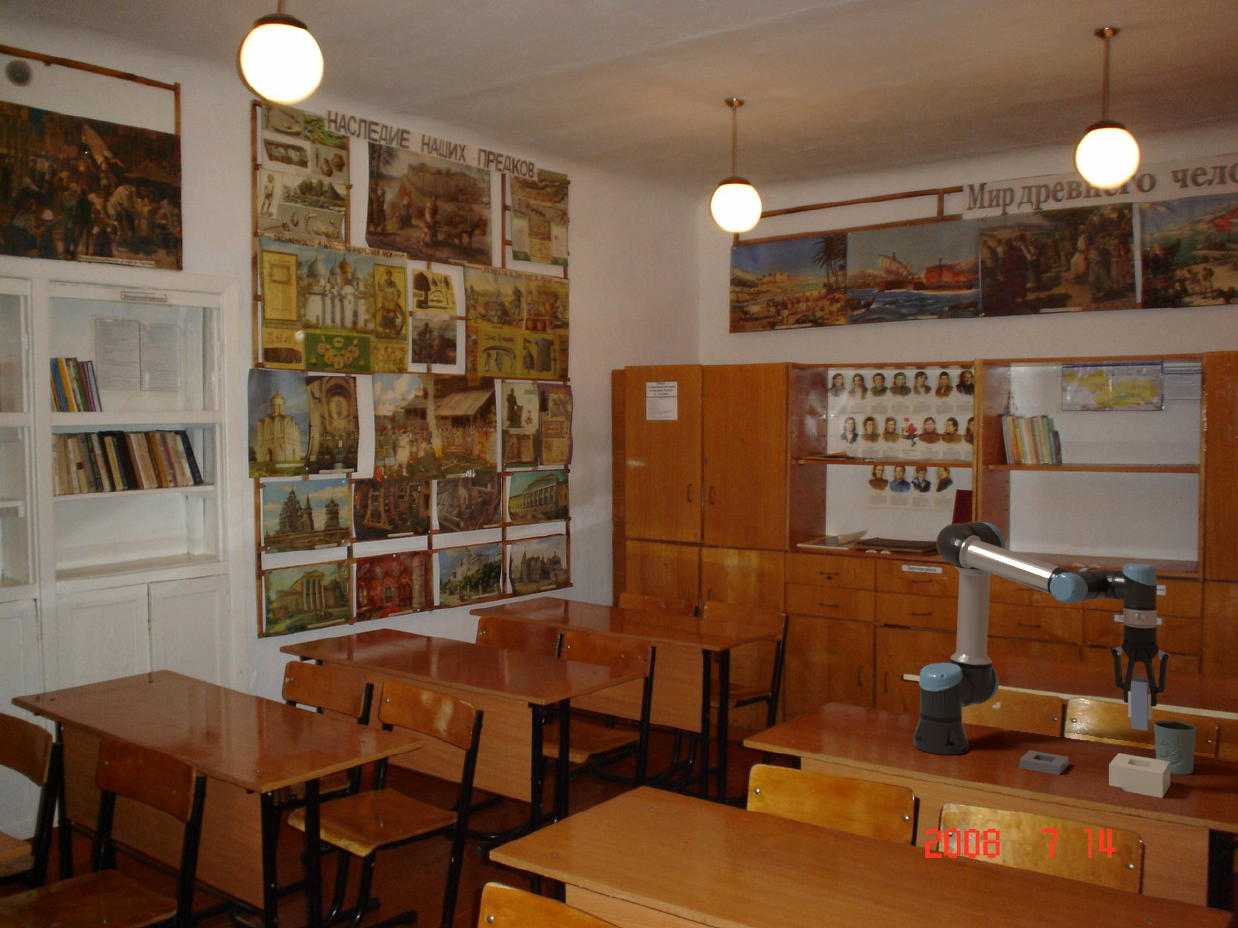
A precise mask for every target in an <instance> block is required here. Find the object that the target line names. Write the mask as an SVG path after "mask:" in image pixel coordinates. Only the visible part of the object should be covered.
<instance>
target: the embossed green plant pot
mask: <svg viewBox="0 0 1238 928" xmlns="http://www.w3.org/2000/svg"><path fill="white" fill-rule="evenodd" d="M1197 729H1198V728H1197V726H1195V725H1193V724H1190V723H1187V722H1183V721H1177V720H1166V719H1165V720H1156V721H1155V720H1154V721H1153V731H1154V732H1153V733H1154V747H1155V759H1158V760H1164V761H1170V774H1171V775H1172V774H1173V775H1182V776H1183V775H1191V774H1192V773H1193V772H1194V763H1195V761H1194V759H1195V758H1194V757H1195V749H1196V748H1195V747H1196V746H1195V745H1196V738H1197V737H1196V736H1197Z"/></svg>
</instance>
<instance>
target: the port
mask: <svg viewBox="0 0 1238 928" xmlns="http://www.w3.org/2000/svg"><path fill="white" fill-rule="evenodd" d="M1108 786H1111V787H1116V788H1121V789H1120V791H1122V792H1123V791H1124V792H1127V793H1134V794H1138V795H1143V796H1144V795H1145V796H1147V797H1148V796H1149V797H1155V798H1160V799H1163V798H1164V796H1165V795H1166V793H1167V791H1168V789H1169V787H1170V786H1171V773H1170V761H1164V760H1158V759H1156V758H1151V757H1144V756H1138V755H1132V754H1127V753H1121V752H1119V753H1117V755H1115V756H1114V758H1113V759H1112V760H1111V762H1109V764H1108Z"/></svg>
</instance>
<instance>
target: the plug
mask: <svg viewBox="0 0 1238 928" xmlns="http://www.w3.org/2000/svg"><path fill="white" fill-rule="evenodd" d="M1130 687H1131V688H1130V690H1131V717H1130V725H1131V726H1130V729H1133V730H1141V731H1148V730H1149V729H1150V725H1151V724H1150V721H1151V720H1147V694H1148V693H1149V692H1150V687H1149V682H1148V677H1147V676H1138V675H1136V676H1134V677H1133V678H1132V681H1131V686H1130Z"/></svg>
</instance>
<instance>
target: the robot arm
mask: <svg viewBox="0 0 1238 928" xmlns="http://www.w3.org/2000/svg"><path fill="white" fill-rule="evenodd" d="M935 541H936V543H935V544H936V549H937V552H938V554H939V555H940V557H941V559H943V560H944V561H946V562H947V563H950V564H952V565H954V568H955V569H956V570H957V571H958V572H959V573H958V574H959V576H958V603H957V623H956V624H957V626H956V627H957V628H956V645H955V646H956V648H955V649H956V650H955V652H954V653H953V654H951V656H950V662H939V663H938V662H937V663H936V662H934V663H930V664H928V665H924V667H922V668H921V670H920V671H919V680H918V685H919V719H918V723H917V726H916V729H915V732H914V734H913V737H912V739H913V742H912V743H913V746H914V747H913V748H916V749H918V751H922V752H925V753H930V754H934V755H945V756H946V755H947V756H948V755H949V756H950V755H962V754H965V753H966V752H968V751H969V740H968V737H967V733H966V730H965V728H964V725H963V708H966V707H969V706H974V705H980V704H984V703H985V702H987V701H991V699H993V698H994V697H995V696H996V694H997V692H998V690H999V686H1000V679H999V675H998V672H996V668H994V667H993V660H992V659H991V658H990V656H988V638H989V637H988V635H989V614H990V613H989V612H990V589H991V588H990V587H991V575H996V576H999V577H1000V578H1003V579H1006V580H1008V581H1012V582H1015V583H1018V584H1020V585H1024V586H1026V587H1030V588H1032V589H1035V590H1038V591H1041V592H1045V593H1047V594H1050V595H1052V596H1053V598H1054V599H1055V600H1056V601H1058V602H1060V603H1063V604H1077V603H1079V602H1086V601H1092V600H1097V599H1098V600H1099V599H1110V600H1118V601H1119V600H1120V601H1123V623H1124V626H1123V641H1122V643H1121V645H1120V646H1117V647H1116V646H1115V647H1112V648H1111V649H1110V653H1111V655H1112V657H1113V664H1114V665H1113V666H1114V680H1115V687H1117V688H1119V689H1122V691H1123V703H1125V704H1128V705H1127V706H1128V707H1127V708H1128V710H1127V711H1128V712H1127V715H1128V717H1127V718H1131V681H1132V680H1133V678H1134V677H1133V675H1134V671H1135V666H1136V663H1138V662H1139V663H1143V664H1144V667H1145V672H1146V677H1147V680H1148V682H1149V693H1148V694H1147V720H1150V721H1151V720H1152V719H1153V707H1155V708H1156V707H1157V705H1158V694H1161V693H1164V692H1165V690H1166V686H1167V685H1166V684H1167V673H1168V672H1167V669H1168V662H1169V659H1170V657H1171V653H1169V652H1165V651H1163V650H1161V649H1160V647H1159V645H1158V629H1157V627H1156V626H1157V625H1158V608H1157V602H1158V601H1157V598H1158V597H1157V596H1158V595H1157V594H1158V593H1157V592H1158V587H1157V586H1158V579H1157V569H1156V568H1155V566H1154V565H1151V564H1146V563H1145V564H1144V563H1126V564H1124V565H1123V569H1122V570H1116V569H1115V570H1114V569H1106V568H1105V569H1104V568H1098V567H1097V568H1096V567H1083V568H1080V569H1079V570H1078V571H1075V570H1070V569H1067V568H1064V567H1062V566H1058V565H1056V564H1053V563H1050V562H1047V561H1044V560H1040V559H1037V558H1033V557H1031V556H1028V555H1025V554H1023V553H1018V552H1016V551H1012V550H1010V549H1007V548H1005V547H1006V541H1005V537H1004V535H1003V533H1002V532H1001V530H999V528H998V527H997V526H996V525H994V524H992V523H990V522H986V521H968V522H959V523H958V522H957V523H952V524H947V525H945V527H943V528H942V529H941V530H940V531H939V533H938V535H937V537H936V540H935ZM1123 653H1124V654H1125V655H1126V657H1127V658H1128V662H1127V669H1126V672H1125V678H1124V682H1123V671H1122V670H1123V669H1122V668H1123V666H1122V657H1121V656H1122V655H1123ZM1157 655H1158V659H1159V660H1160V663H1159V678H1158V686H1157V681H1156V677H1155V672H1154V667H1153V661H1152V660H1153V659H1154V658H1155V656H1157Z"/></svg>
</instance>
